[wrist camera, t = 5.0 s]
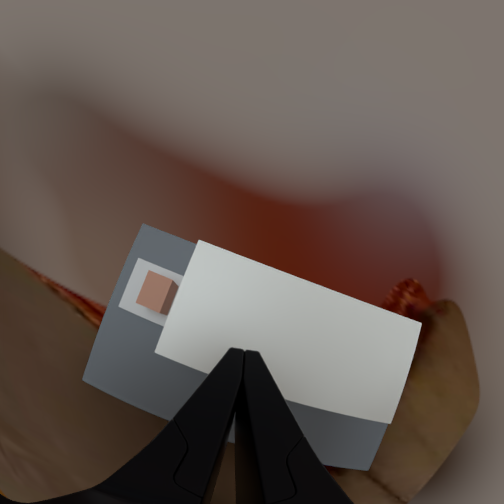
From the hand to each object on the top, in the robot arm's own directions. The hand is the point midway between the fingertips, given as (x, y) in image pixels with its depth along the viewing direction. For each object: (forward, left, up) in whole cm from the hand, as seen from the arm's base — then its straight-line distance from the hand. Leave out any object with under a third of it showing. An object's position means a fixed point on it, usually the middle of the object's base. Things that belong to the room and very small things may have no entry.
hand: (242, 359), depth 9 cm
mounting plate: (-2, -1, -13) cm, 13 cm away
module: (-2, -3, -12) cm, 12 cm away
